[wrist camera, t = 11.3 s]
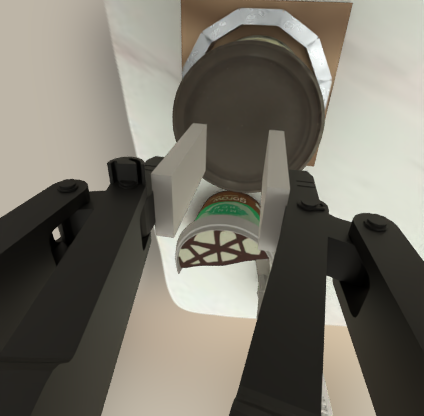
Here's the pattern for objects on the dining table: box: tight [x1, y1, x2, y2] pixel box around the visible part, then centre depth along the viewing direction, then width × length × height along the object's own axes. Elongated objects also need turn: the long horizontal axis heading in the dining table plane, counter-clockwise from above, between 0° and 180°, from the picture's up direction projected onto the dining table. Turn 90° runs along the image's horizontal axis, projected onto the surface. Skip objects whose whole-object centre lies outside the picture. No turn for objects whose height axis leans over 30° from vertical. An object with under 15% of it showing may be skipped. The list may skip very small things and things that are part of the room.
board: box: [181, 0, 353, 166], centre depth 32 cm, size 16×16×1 cm
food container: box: [175, 191, 275, 274], centre depth 37 cm, size 12×6×10 cm, turn 107°
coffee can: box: [173, 35, 325, 193], centre depth 26 cm, size 10×10×14 cm
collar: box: [182, 8, 332, 108], centre depth 31 cm, size 14×14×3 cm
